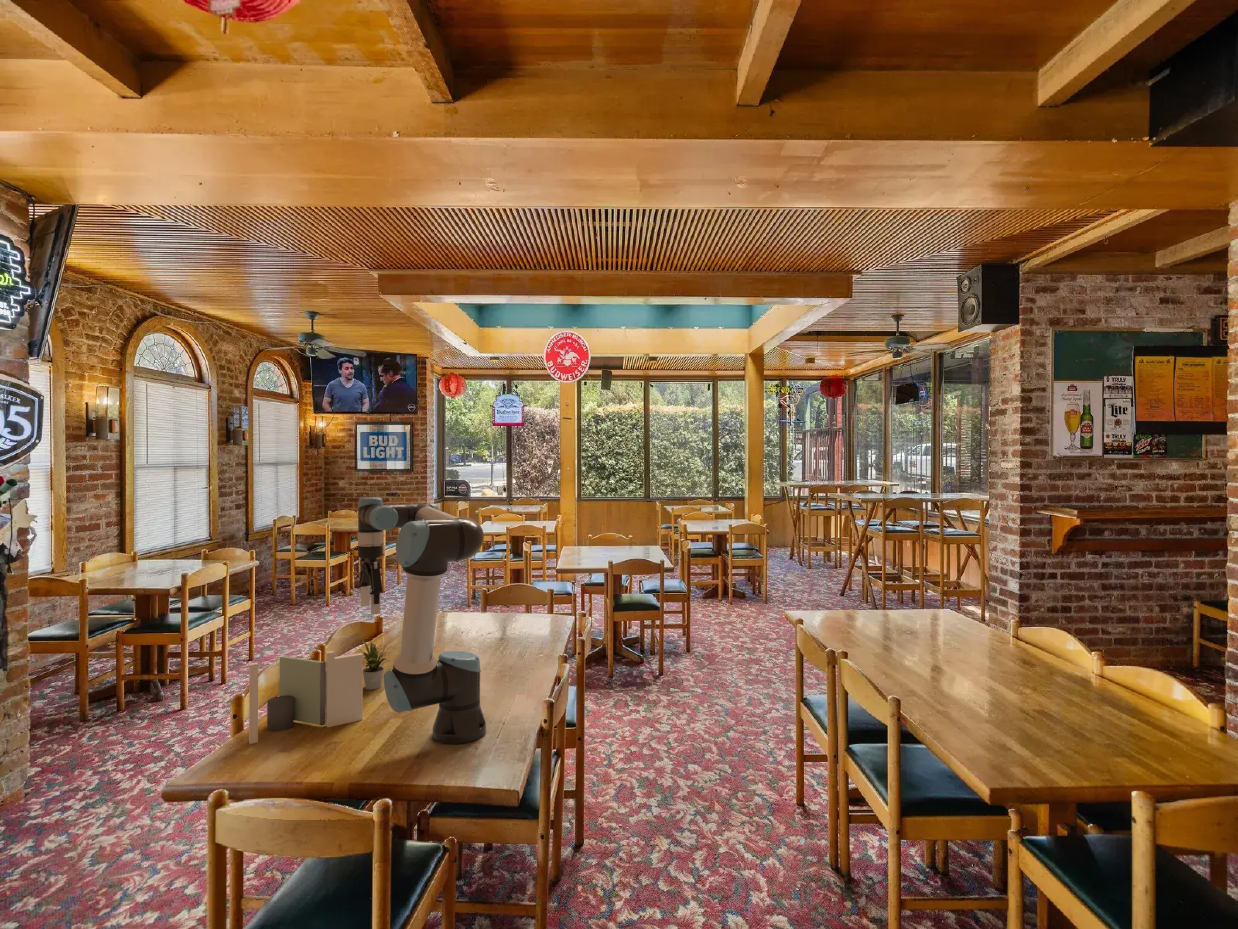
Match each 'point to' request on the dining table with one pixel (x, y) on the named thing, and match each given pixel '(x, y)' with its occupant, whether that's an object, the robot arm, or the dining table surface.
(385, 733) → the dining table surface
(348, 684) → the door frame
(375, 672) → the house plant
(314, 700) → the door
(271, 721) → the dark brown cylinder
